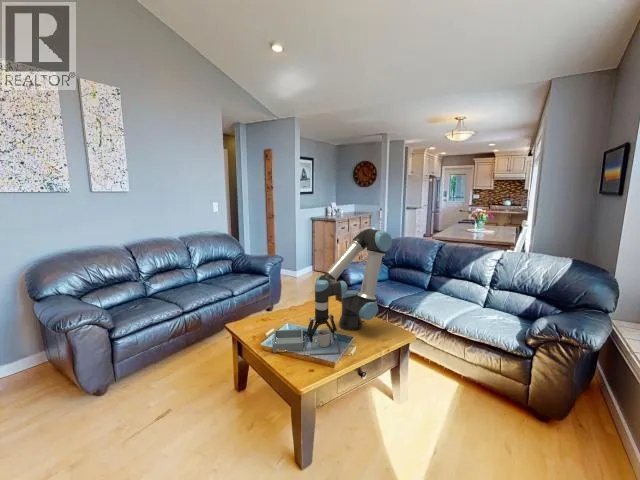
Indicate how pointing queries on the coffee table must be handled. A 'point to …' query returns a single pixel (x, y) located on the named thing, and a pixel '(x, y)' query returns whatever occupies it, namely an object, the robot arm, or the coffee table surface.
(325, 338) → the cup
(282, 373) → the coffee table surface
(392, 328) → the coffee table surface
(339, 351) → the square tray frame
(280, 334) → the bin
